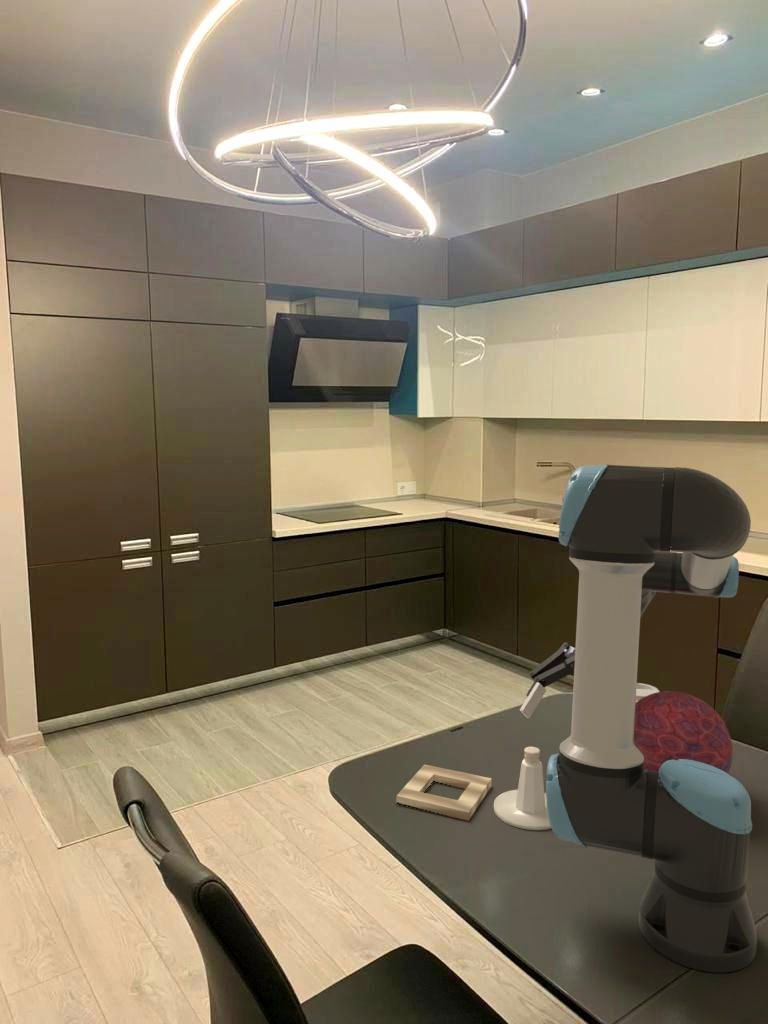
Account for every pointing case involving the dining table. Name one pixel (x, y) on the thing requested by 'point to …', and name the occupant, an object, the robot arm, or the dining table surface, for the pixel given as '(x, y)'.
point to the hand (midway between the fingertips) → (551, 726)
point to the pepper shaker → (531, 783)
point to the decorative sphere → (680, 731)
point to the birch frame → (458, 808)
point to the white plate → (519, 813)
